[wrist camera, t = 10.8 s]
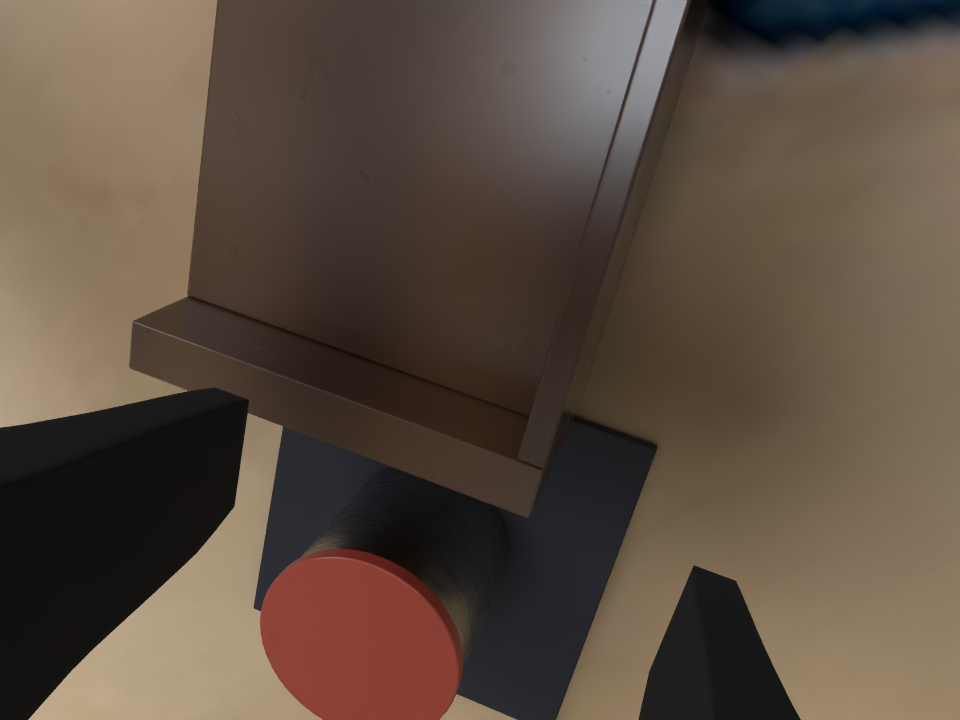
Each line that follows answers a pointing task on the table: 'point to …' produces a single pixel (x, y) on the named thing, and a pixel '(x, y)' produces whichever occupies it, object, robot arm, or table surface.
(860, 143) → the table surface
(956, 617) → the table surface
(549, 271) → the desk shelf
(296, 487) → the felt coaster
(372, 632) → the cylinder
